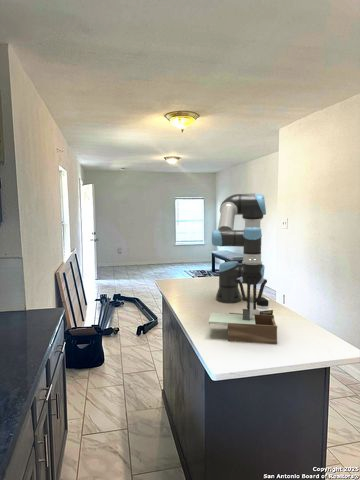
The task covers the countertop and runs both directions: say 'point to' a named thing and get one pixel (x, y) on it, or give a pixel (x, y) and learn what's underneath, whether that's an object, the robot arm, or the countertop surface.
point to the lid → (232, 318)
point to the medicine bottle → (263, 307)
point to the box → (254, 330)
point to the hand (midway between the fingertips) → (251, 316)
